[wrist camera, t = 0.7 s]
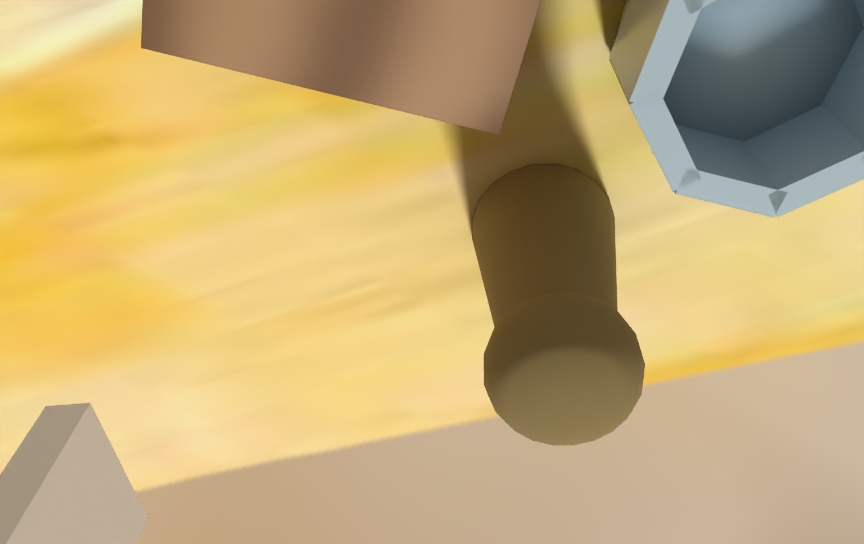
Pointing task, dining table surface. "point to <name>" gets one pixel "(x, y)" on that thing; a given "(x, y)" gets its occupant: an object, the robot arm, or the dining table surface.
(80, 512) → the robot arm
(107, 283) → the dining table surface
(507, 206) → the pepper shaker
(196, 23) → the lid
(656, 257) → the dining table surface
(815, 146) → the bowl
